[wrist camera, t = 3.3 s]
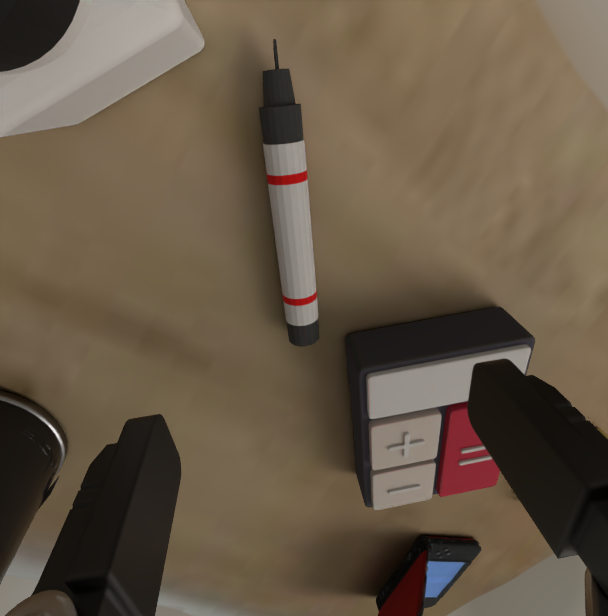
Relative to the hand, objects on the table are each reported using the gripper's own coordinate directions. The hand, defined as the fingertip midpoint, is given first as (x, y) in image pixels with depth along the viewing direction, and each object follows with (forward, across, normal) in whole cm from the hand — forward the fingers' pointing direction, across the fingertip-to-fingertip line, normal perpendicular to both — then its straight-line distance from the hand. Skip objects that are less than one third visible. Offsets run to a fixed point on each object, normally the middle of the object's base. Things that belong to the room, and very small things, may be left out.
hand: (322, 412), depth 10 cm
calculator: (+14, -9, +14) cm, 22 cm away
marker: (+14, 0, -2) cm, 14 cm away
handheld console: (+14, -9, +39) cm, 43 cm away
